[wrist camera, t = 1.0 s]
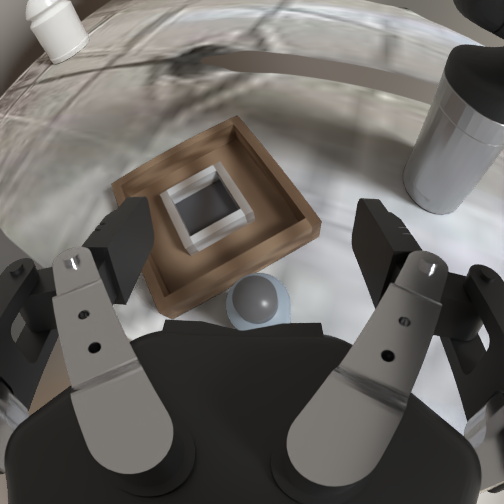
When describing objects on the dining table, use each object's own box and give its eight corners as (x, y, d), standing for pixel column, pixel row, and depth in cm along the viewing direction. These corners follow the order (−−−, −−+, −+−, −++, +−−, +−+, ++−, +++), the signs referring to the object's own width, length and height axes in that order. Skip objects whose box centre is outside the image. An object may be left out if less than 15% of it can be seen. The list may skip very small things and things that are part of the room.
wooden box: (241, 133, 42) (237, 115, 39) (318, 236, 35) (321, 221, 32) (123, 198, 41) (111, 183, 37) (172, 319, 34) (159, 313, 30)
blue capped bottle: (277, 299, 33) (267, 251, 20) (298, 334, 31) (303, 309, 19) (241, 320, 33) (207, 284, 20) (261, 355, 31) (240, 345, 18)
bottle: (63, 47, 71) (30, -11, 45) (96, 32, 69) (64, -32, 43) (45, 70, 65) (6, 8, 39) (80, 55, 64) (41, -16, 38)
